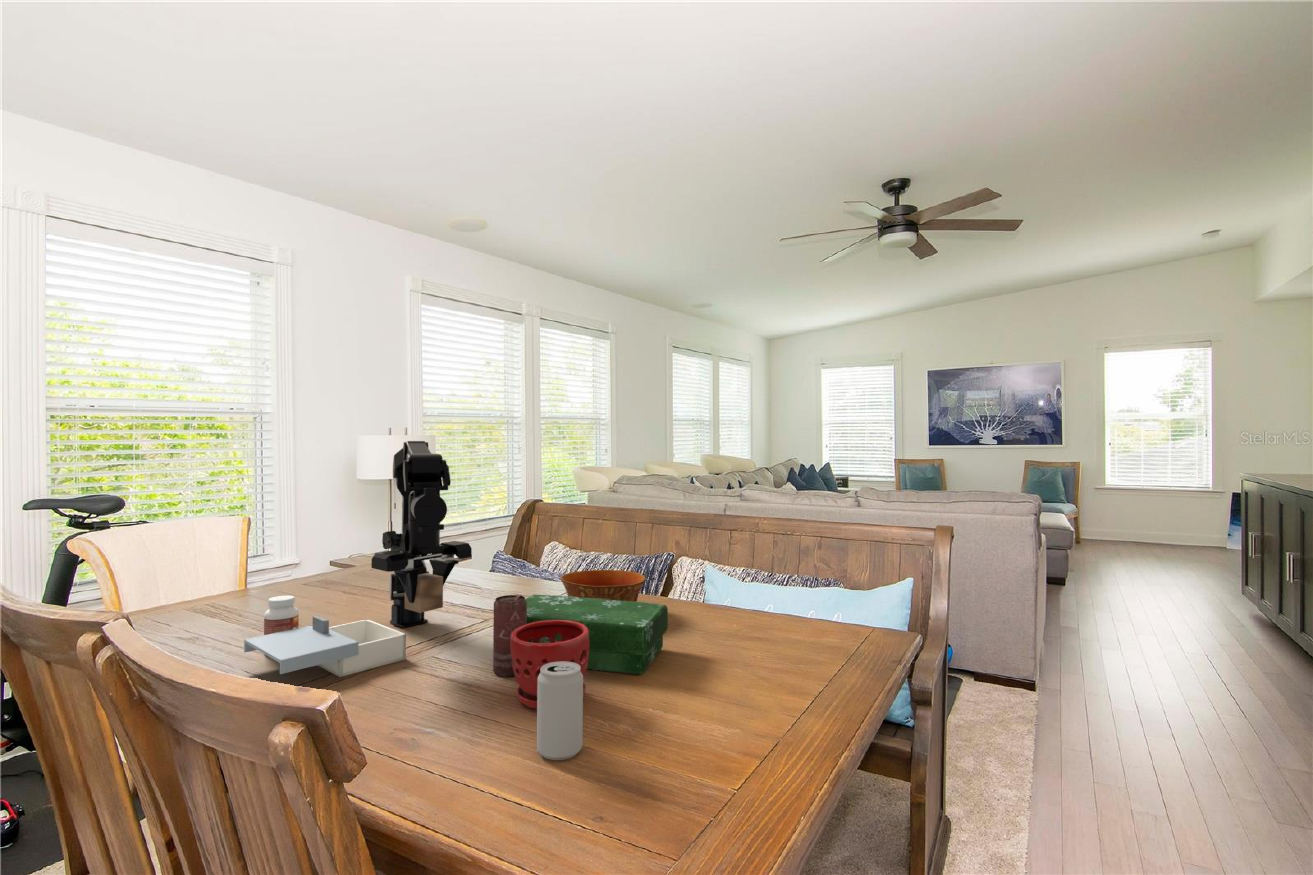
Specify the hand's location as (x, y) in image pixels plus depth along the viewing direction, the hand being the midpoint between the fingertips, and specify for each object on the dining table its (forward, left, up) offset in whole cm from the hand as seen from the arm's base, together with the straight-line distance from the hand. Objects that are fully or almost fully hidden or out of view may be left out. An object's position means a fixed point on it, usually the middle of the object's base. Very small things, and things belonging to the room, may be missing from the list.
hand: (423, 599), depth 127 cm
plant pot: (-5, +31, -13) cm, 34 cm away
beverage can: (+6, +46, -13) cm, 48 cm away
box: (-25, +18, -13) cm, 34 cm away
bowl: (-48, +1, -13) cm, 50 cm away
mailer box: (+7, -14, -13) cm, 20 cm away
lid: (+17, -14, -9) cm, 24 cm away
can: (-9, +15, -13) cm, 22 cm away
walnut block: (0, 0, -2) cm, 2 cm away
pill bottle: (+15, -29, -13) cm, 35 cm away
